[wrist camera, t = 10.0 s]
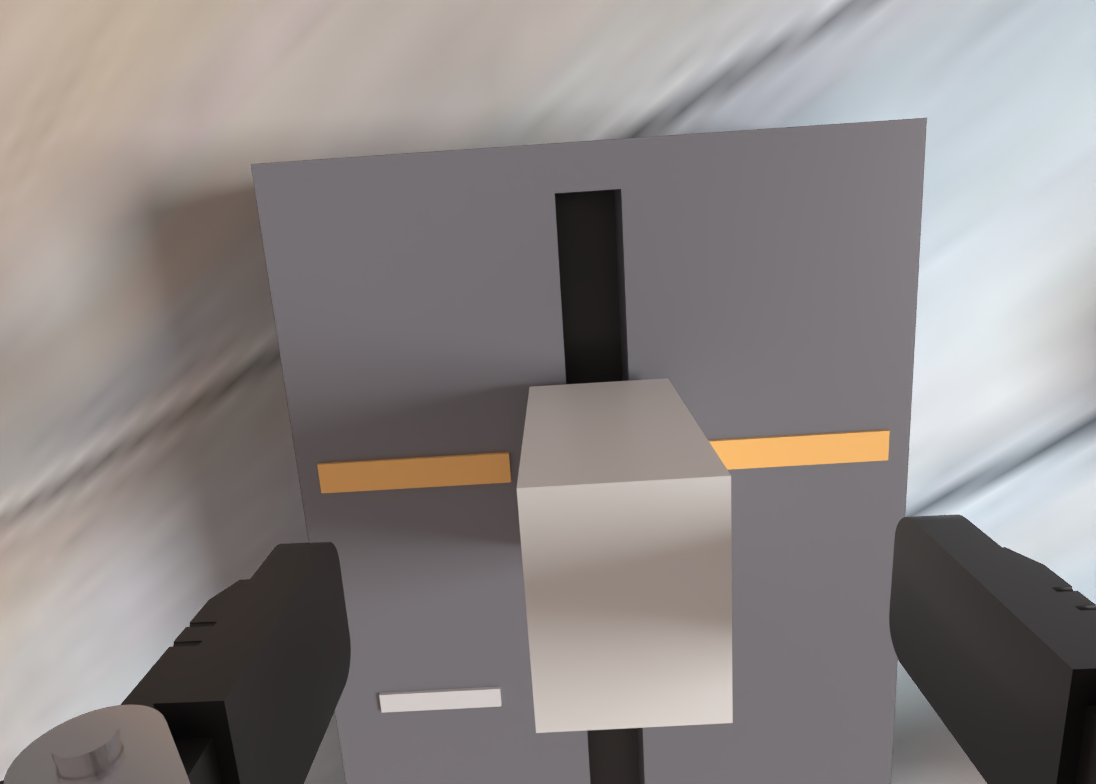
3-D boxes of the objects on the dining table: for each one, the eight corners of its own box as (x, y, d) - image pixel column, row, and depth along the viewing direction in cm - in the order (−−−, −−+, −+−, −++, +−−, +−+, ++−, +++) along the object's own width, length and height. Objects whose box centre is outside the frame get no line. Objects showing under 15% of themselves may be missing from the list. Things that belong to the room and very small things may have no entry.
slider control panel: (321, 172, 21) (249, 164, 16) (838, 137, 20) (929, 117, 15) (412, 861, 26) (379, 1014, 21) (818, 841, 26) (881, 992, 21)
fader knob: (531, 367, 18) (516, 488, 11) (655, 359, 18) (731, 475, 11) (542, 519, 19) (536, 733, 12) (660, 512, 19) (732, 723, 12)
